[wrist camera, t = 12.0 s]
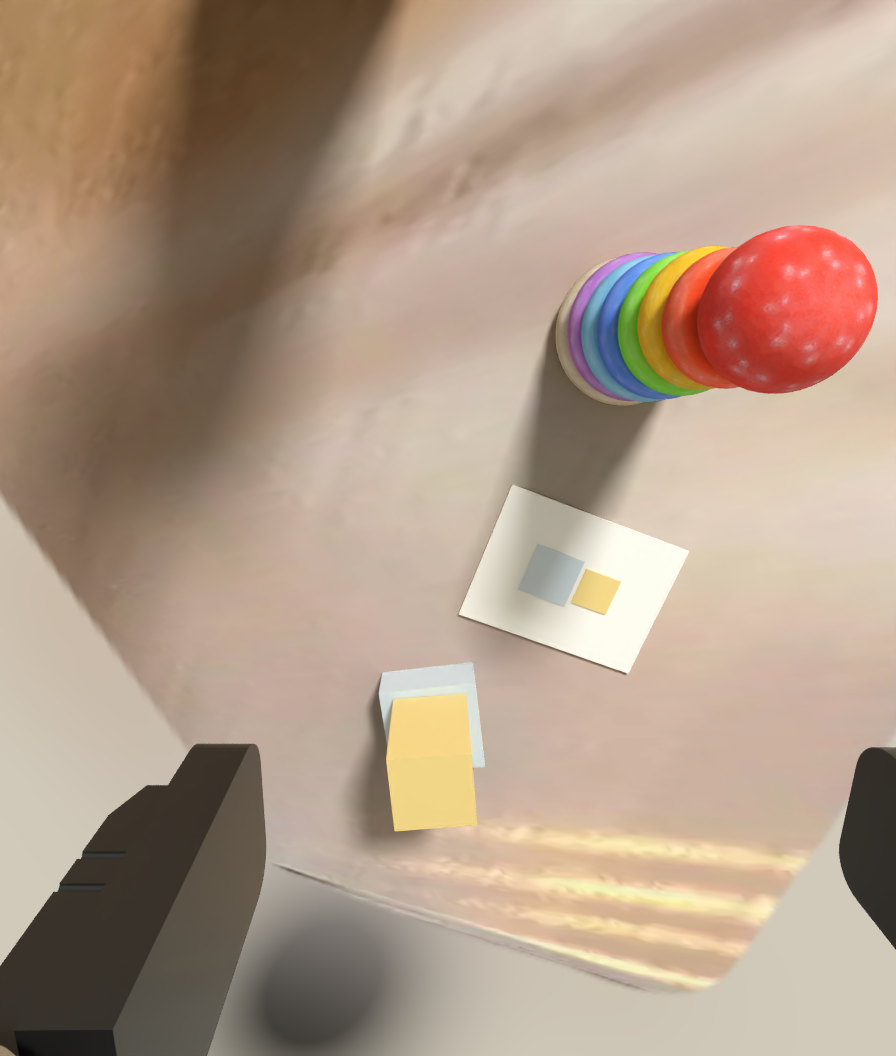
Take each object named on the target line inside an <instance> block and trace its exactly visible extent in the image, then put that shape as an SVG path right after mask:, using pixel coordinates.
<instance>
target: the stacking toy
mask: <svg viewBox="0 0 896 1056" xmlns="http://www.w3.org/2000/svg"><path fill="white" fill-rule="evenodd" d="M877 300H878V294H877V283H876V279H875V275H874V272H873V269H872V267H871V265H870V263H869V261H868V260H867V258H866V256H865V255H864V253H863V252H862V251H861V250H860V249H859V248H858V247H857V246H856V245H855V244H854V243H853V242H852V241H850V240H849V239H847V238H846V237H844V236H842V235H840V234H838V233H836V232H834V231H831V230H828V229H824V228H820V227H815V226H787V227H782V228H778V229H774V230H771V231H768V232H765V233H762V234H760V235H757V236H755V237H753V238H752V239H750V240H748V241H747V242H745V243H744V244H742V245H741V246H739V247H730V248H729V247H723V246H707V247H702V248H697V249H694V250H691V251H683V252H679V253H676V252H672V253H663V254H656V253H633V254H627V255H624V256H621V257H617V258H613V259H610V260H607V261H604V262H602V263H600V264H598V265H596V266H594V267H593V268H591V269H590V270H588V271H587V272H586V273H585V274H583V275H582V276H581V277H580V278H579V279H578V280H577V281H576V282H575V284H574V285H573V286H572V288H571V289H570V290H569V292H568V293H567V295H566V297H565V299H564V301H563V303H562V305H561V307H560V311H559V314H558V318H557V323H556V335H555V337H556V348H557V353H558V357H559V360H560V363H561V365H562V367H563V369H564V371H565V373H566V375H567V376H568V378H569V379H570V380H571V382H572V383H573V384H574V385H575V386H576V387H577V388H578V389H579V390H580V391H582V392H583V393H584V394H586V395H587V396H589V397H591V398H593V399H595V400H597V401H600V402H602V403H606V404H611V405H622V406H626V405H634V404H639V403H643V402H655V401H660V400H665V399H672V398H677V397H680V396H686V395H693V394H697V393H701V392H704V391H707V390H709V389H713V388H724V389H727V388H736V387H741V388H744V389H747V390H750V391H754V392H760V393H788V392H793V391H798V390H801V389H804V388H807V387H810V386H813V385H815V384H817V383H819V382H821V381H823V380H825V379H827V378H828V377H830V376H832V375H833V374H834V373H836V372H837V371H838V370H840V369H841V368H842V367H844V366H845V365H846V364H847V363H848V362H849V361H850V360H851V359H852V358H853V356H854V355H855V354H856V353H857V351H858V350H859V349H860V347H861V346H862V345H863V343H864V342H865V340H866V338H867V336H868V334H869V332H870V330H871V328H872V324H873V321H874V318H875V314H876V310H877Z"/></svg>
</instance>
